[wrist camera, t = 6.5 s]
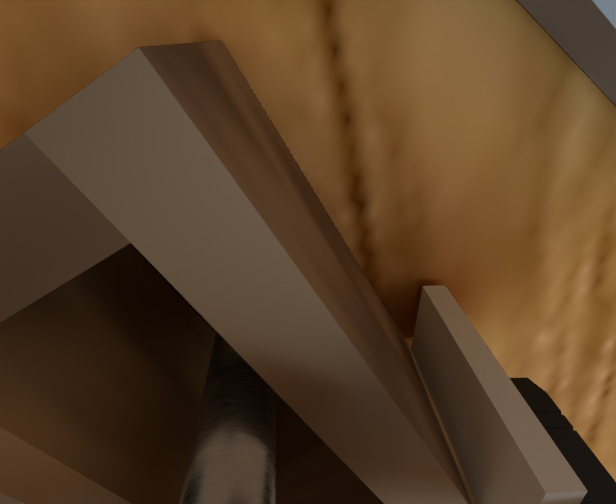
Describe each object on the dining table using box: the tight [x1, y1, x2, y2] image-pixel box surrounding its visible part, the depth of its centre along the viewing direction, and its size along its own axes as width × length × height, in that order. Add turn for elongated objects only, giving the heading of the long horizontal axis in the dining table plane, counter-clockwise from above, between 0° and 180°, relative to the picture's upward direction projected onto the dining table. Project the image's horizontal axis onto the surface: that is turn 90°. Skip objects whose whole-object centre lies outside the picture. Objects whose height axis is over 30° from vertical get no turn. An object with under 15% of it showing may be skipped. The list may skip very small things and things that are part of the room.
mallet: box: [180, 331, 277, 504], centre depth 8 cm, size 3×6×10 cm, turn 146°
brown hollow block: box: [0, 41, 477, 504], centre depth 10 cm, size 12×7×6 cm, turn 30°
